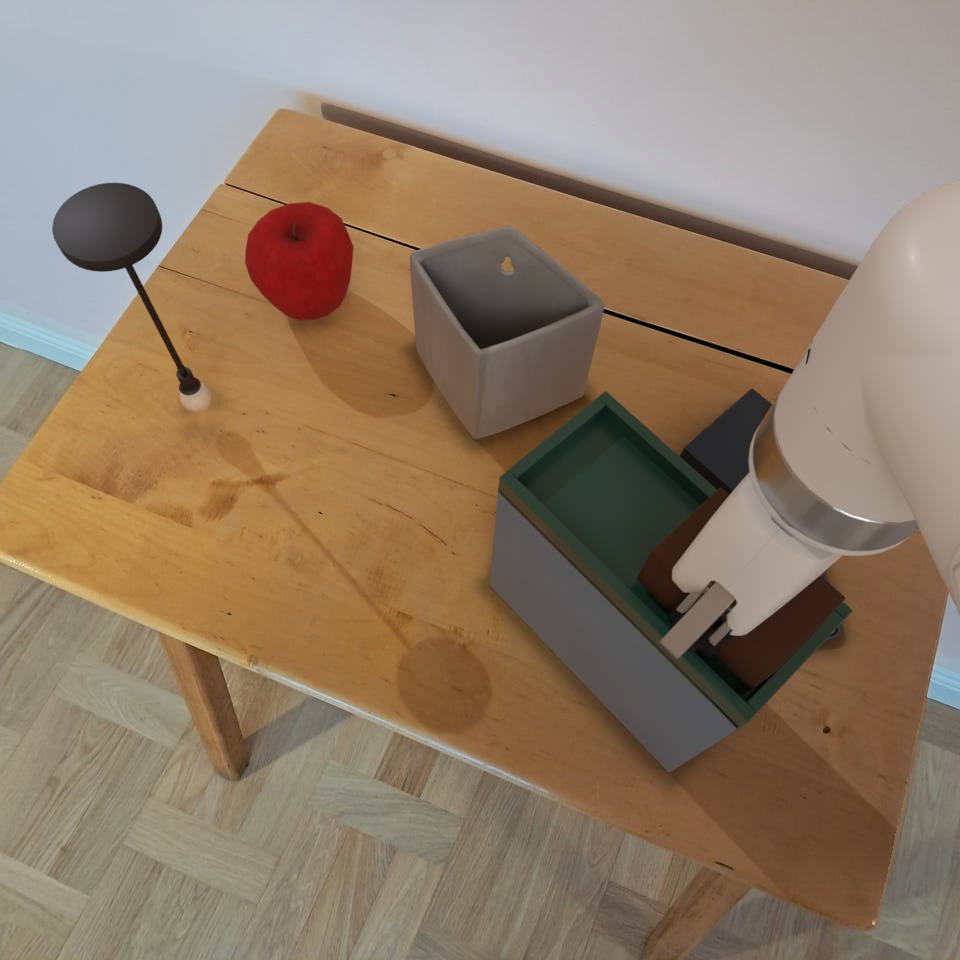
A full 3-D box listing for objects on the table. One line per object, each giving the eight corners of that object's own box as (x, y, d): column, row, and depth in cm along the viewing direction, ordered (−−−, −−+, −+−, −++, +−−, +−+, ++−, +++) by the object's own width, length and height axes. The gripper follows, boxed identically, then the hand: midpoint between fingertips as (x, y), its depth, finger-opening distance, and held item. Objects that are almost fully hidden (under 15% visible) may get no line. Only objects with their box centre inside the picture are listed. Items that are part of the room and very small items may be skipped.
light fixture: (176, 457, 77) (59, 272, 54) (161, 396, 79) (45, 196, 57) (250, 436, 78) (166, 246, 55) (234, 376, 81) (148, 172, 58)
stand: (750, 688, 69) (839, 620, 53) (668, 773, 66) (737, 729, 50) (570, 514, 75) (601, 406, 59) (488, 584, 72) (497, 491, 56)
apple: (316, 245, 88) (298, 163, 78) (382, 299, 85) (372, 220, 75) (239, 302, 84) (211, 223, 75) (305, 360, 82) (284, 285, 72)
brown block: (701, 518, 54) (721, 486, 50) (816, 622, 51) (846, 597, 47) (635, 578, 52) (650, 551, 48) (751, 690, 49) (777, 671, 45)
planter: (389, 416, 79) (370, 277, 62) (418, 347, 83) (407, 197, 65) (562, 464, 77) (592, 336, 60) (584, 391, 81) (618, 250, 63)
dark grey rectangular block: (788, 456, 78) (806, 432, 74) (723, 517, 75) (738, 495, 71) (737, 413, 80) (752, 387, 76) (671, 471, 77) (683, 447, 73)
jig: (839, 620, 53) (853, 610, 51) (737, 729, 50) (748, 722, 48) (601, 406, 59) (605, 390, 57) (497, 491, 56) (498, 476, 54)
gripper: (900, 289, 39) (770, 470, 55) (638, 523, 34) (580, 648, 50) (1046, 395, 37) (866, 552, 53) (790, 666, 31) (677, 749, 48)
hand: (728, 598), depth 51 cm, fingers closed on brown block, 5 cm apart
